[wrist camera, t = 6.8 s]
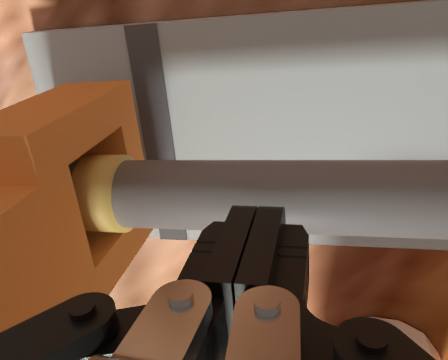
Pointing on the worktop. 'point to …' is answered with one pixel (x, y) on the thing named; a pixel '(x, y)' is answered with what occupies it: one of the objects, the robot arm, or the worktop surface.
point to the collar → (60, 196)
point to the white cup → (414, 336)
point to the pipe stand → (270, 121)
